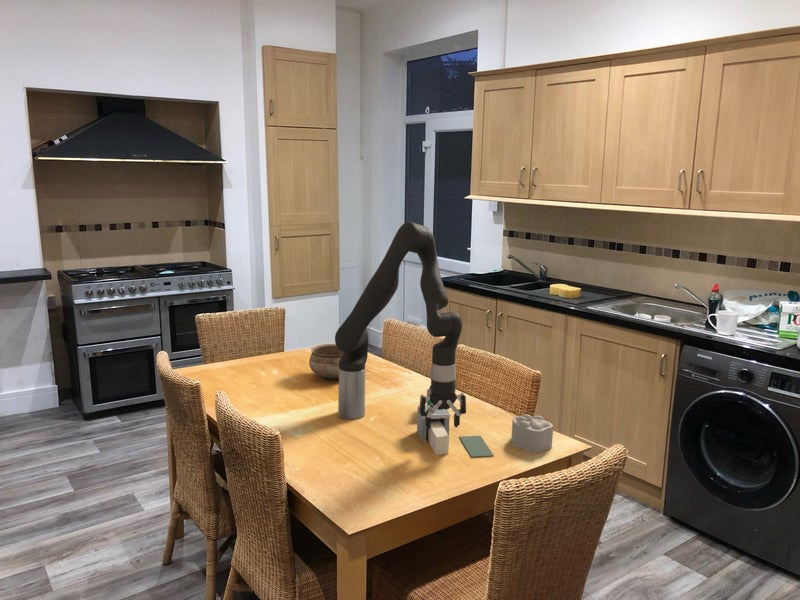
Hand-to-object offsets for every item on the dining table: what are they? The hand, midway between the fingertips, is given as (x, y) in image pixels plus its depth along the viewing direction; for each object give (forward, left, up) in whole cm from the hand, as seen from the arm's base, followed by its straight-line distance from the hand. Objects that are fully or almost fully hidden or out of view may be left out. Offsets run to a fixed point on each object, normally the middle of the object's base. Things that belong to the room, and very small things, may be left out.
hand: (442, 427), depth 197 cm
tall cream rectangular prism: (-1, +3, -8) cm, 8 cm away
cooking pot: (-31, +74, -8) cm, 81 cm away
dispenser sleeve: (-1, +11, -8) cm, 14 cm away
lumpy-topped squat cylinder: (+29, +2, -8) cm, 31 cm away
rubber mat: (+11, +1, -8) cm, 14 cm away
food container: (+5, +32, -8) cm, 34 cm away
